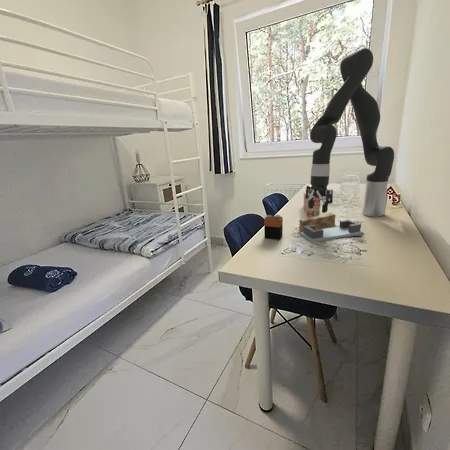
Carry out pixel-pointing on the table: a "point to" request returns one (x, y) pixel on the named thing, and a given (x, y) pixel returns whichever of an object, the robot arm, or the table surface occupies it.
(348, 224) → the cap board
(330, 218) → the slat
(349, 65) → the robot arm
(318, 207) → the stack of blocks
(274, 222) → the battery
